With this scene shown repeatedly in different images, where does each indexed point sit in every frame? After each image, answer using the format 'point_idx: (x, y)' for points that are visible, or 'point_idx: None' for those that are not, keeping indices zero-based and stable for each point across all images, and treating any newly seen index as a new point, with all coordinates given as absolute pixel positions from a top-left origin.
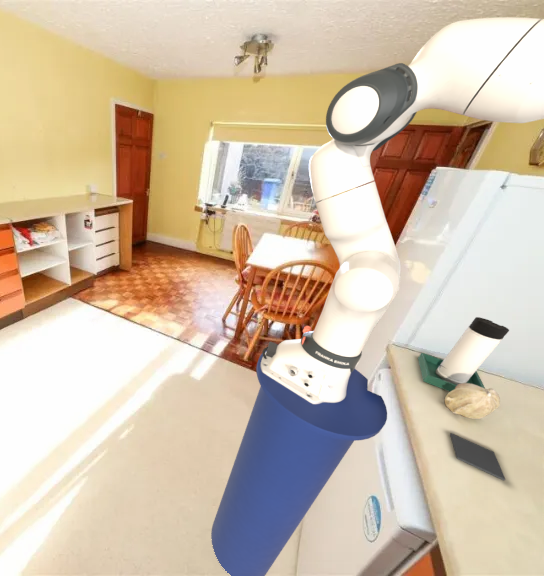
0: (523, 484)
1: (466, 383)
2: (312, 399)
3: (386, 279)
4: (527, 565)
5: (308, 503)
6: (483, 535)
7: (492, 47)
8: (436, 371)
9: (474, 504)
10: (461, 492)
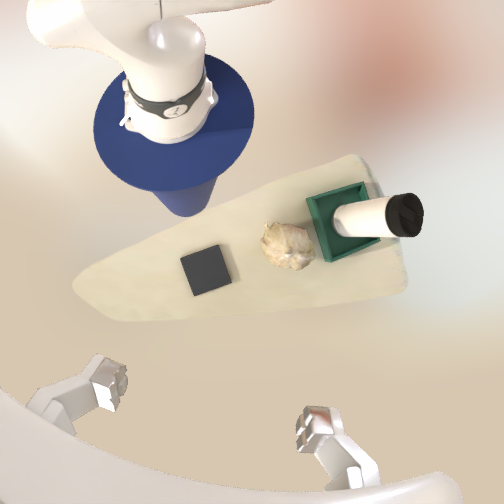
0: (209, 308)
1: (296, 230)
2: (126, 123)
3: (30, 7)
4: (109, 316)
5: (167, 200)
6: (104, 290)
7: None
8: (341, 205)
9: (131, 281)
10: (134, 270)
